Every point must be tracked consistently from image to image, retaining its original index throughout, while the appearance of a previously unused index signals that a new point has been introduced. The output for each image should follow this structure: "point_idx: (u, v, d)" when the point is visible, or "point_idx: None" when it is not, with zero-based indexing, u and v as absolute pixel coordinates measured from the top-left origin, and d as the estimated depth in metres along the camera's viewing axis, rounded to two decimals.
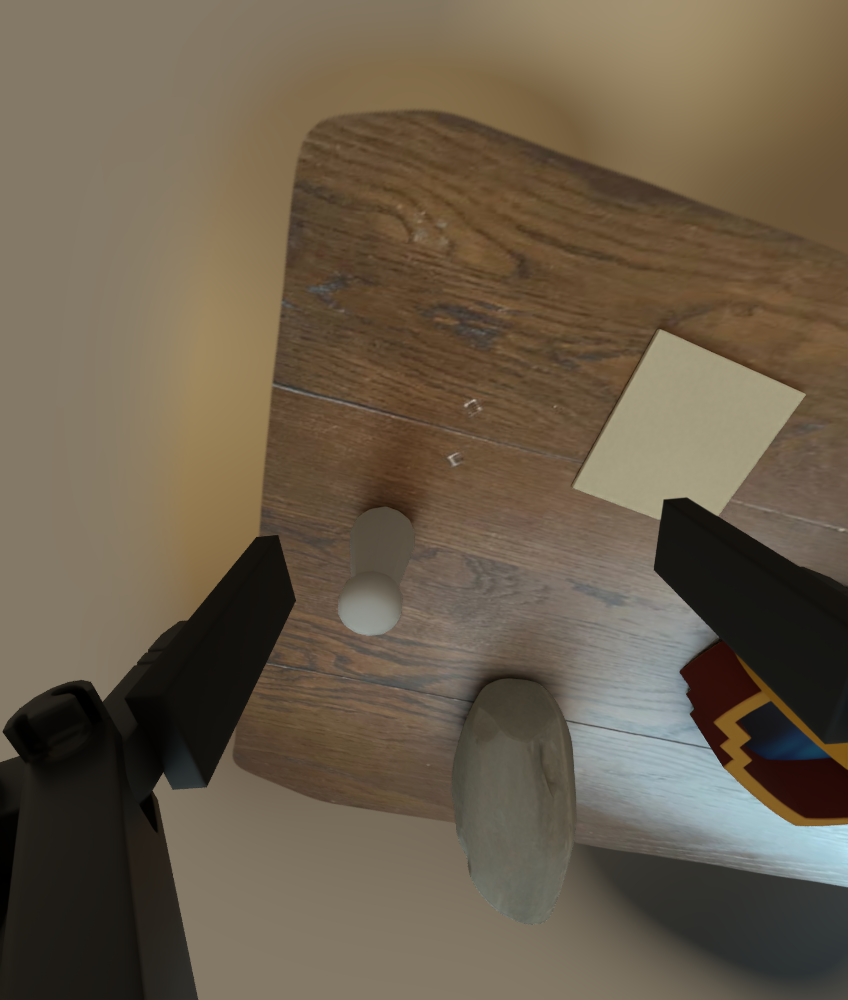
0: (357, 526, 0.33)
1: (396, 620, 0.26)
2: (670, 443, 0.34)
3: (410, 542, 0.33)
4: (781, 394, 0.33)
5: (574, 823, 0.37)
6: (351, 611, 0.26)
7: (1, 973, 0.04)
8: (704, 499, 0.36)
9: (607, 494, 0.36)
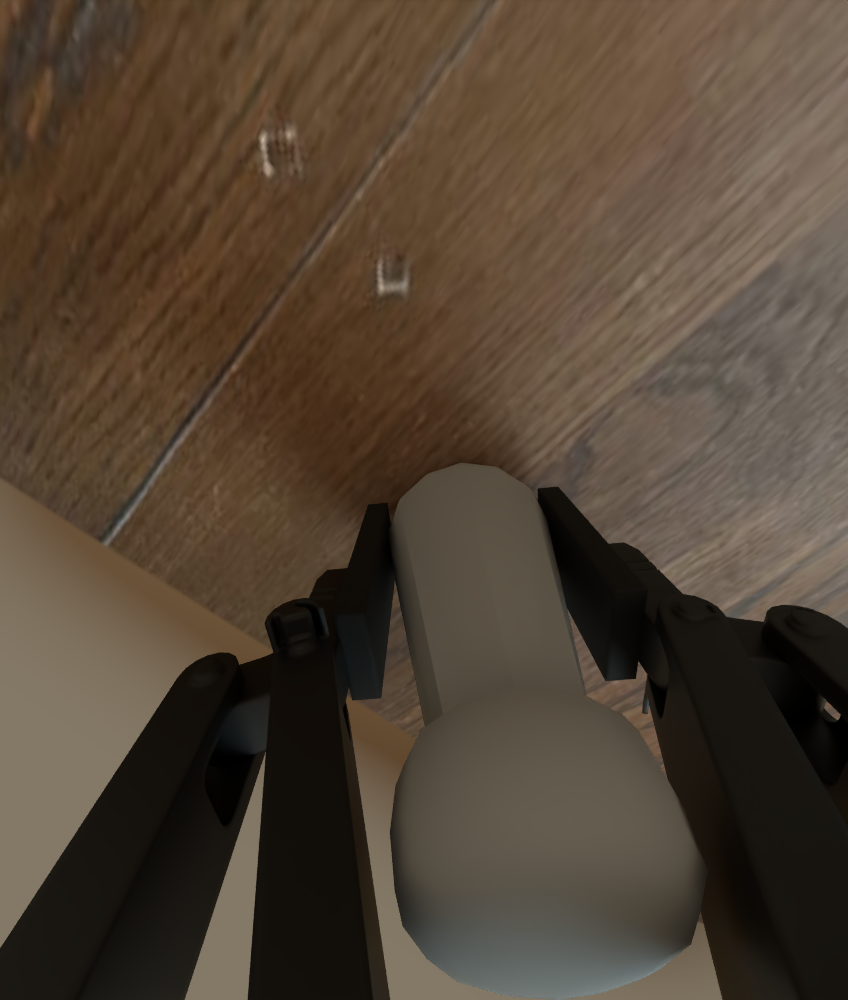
0: (395, 580, 0.14)
1: (685, 861, 0.05)
2: None
3: (500, 498, 0.12)
4: None
5: None
6: (488, 984, 0.05)
7: (263, 805, 0.06)
8: None
9: None
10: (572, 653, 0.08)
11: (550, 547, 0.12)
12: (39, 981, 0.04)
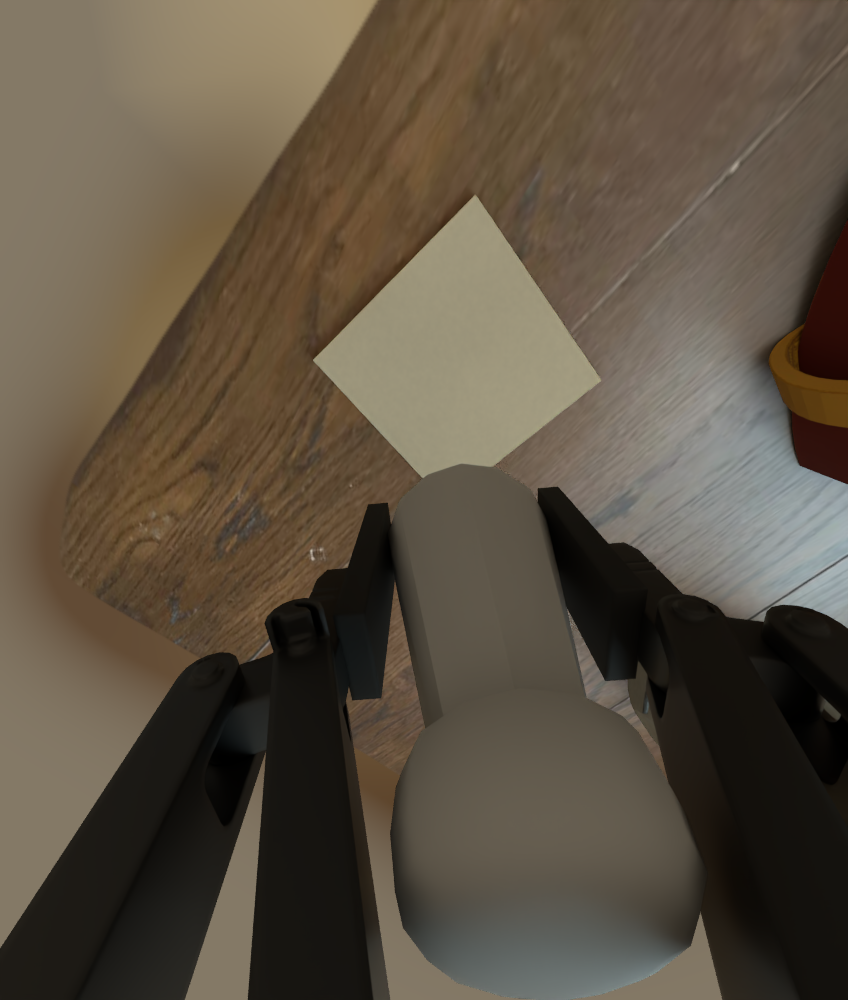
0: None
1: (685, 863, 0.05)
2: (450, 385, 0.28)
3: (500, 500, 0.12)
4: (458, 229, 0.24)
5: None
6: (488, 985, 0.05)
7: (263, 805, 0.06)
8: (548, 366, 0.27)
9: None
10: (572, 654, 0.08)
11: (550, 548, 0.12)
12: (40, 981, 0.04)
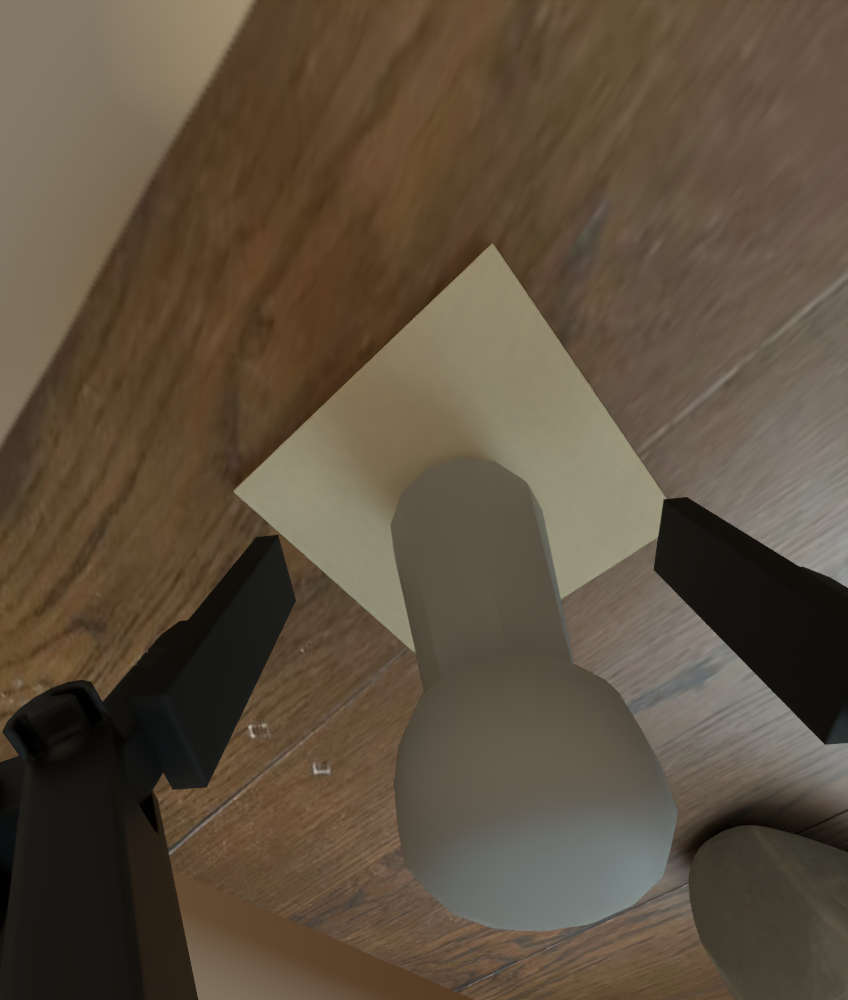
0: None
1: (655, 799, 0.05)
2: None
3: (497, 490, 0.13)
4: (462, 300, 0.14)
5: None
6: (482, 913, 0.06)
7: (1, 973, 0.04)
8: (602, 501, 0.17)
9: None
10: (562, 629, 0.08)
11: (545, 537, 0.13)
12: None
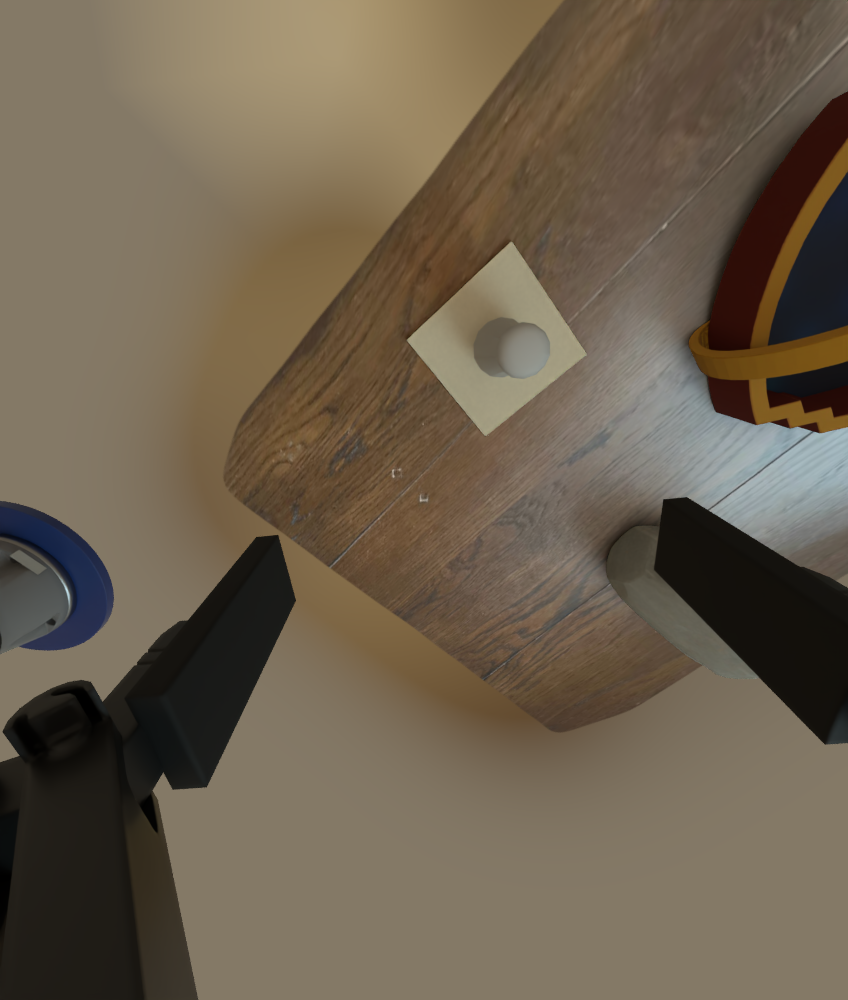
0: (477, 357, 0.40)
1: (544, 334, 0.31)
2: None
3: (513, 321, 0.38)
4: (500, 261, 0.40)
5: None
6: (514, 362, 0.32)
7: (2, 972, 0.04)
8: (554, 344, 0.43)
9: (505, 414, 0.46)
10: None
11: None
12: None
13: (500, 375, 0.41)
